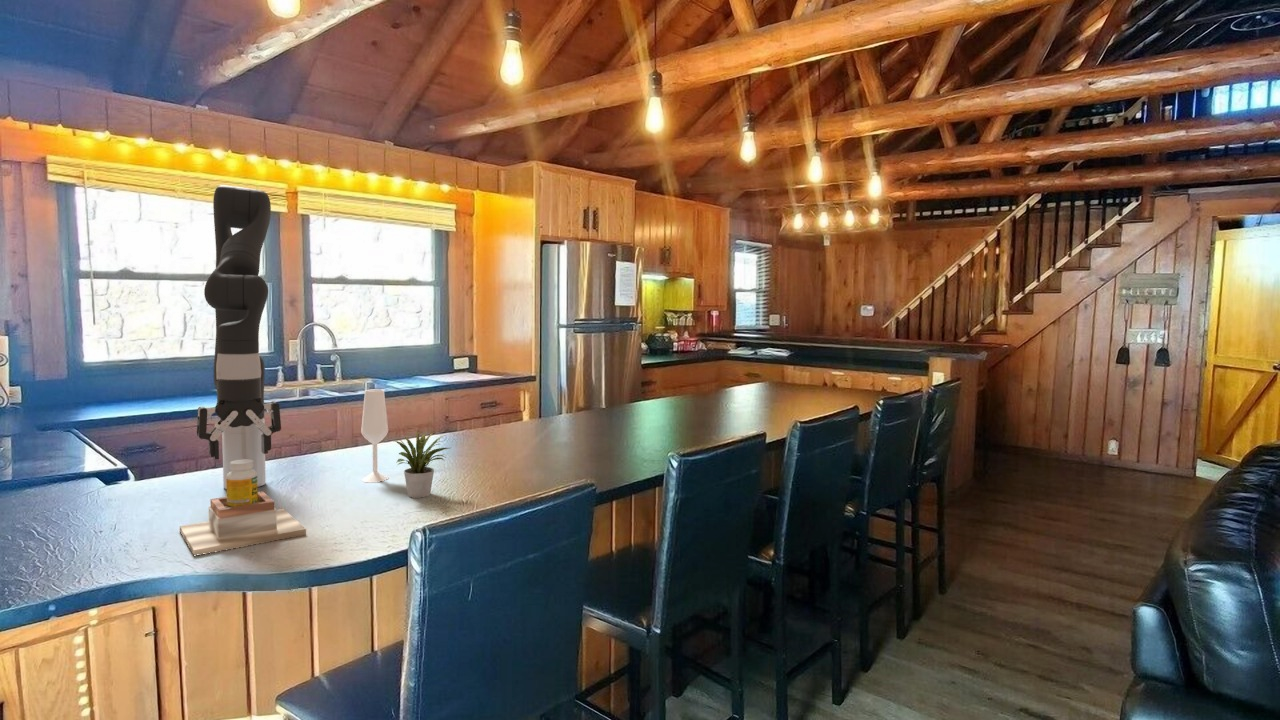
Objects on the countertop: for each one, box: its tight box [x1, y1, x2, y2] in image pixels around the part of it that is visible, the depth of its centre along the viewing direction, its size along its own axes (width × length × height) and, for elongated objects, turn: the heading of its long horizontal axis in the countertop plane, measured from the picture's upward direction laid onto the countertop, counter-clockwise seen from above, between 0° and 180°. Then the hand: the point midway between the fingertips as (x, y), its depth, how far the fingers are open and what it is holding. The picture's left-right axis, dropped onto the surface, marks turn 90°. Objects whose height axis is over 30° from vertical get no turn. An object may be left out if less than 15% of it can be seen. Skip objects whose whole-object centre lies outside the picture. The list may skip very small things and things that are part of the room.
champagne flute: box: [360, 388, 389, 483], centre depth 176 cm, size 7×7×24 cm
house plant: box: [394, 429, 451, 499], centre depth 161 cm, size 14×14×16 cm
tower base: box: [179, 490, 307, 555], centre depth 133 cm, size 17×19×7 cm
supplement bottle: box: [226, 459, 259, 507], centre depth 133 cm, size 5×5×10 cm
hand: (240, 455), depth 132 cm, fingers open, 8 cm apart
